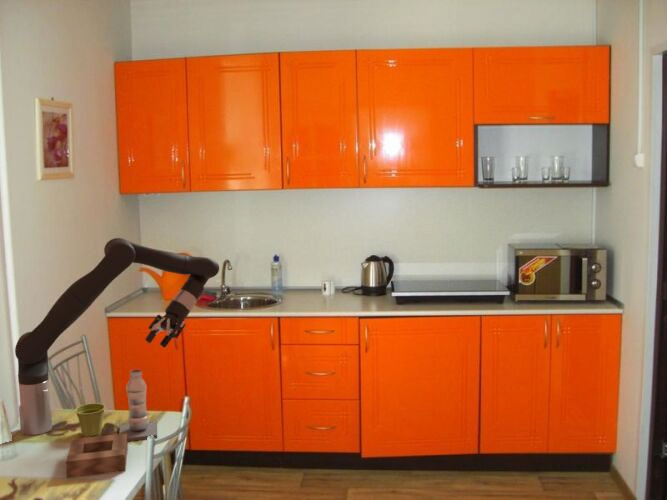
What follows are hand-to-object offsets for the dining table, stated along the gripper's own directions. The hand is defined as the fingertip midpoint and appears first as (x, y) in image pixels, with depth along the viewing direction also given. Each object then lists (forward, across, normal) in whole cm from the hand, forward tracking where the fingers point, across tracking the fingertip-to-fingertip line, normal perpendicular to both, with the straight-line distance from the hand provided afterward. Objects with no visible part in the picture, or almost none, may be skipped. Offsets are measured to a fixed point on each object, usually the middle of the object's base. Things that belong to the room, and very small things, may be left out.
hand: (154, 343), depth 230 cm
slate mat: (+26, +4, +12) cm, 29 cm away
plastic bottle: (+26, +4, +12) cm, 29 cm away
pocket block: (+41, +14, -2) cm, 43 cm away
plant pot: (+34, -8, +6) cm, 35 cm away
